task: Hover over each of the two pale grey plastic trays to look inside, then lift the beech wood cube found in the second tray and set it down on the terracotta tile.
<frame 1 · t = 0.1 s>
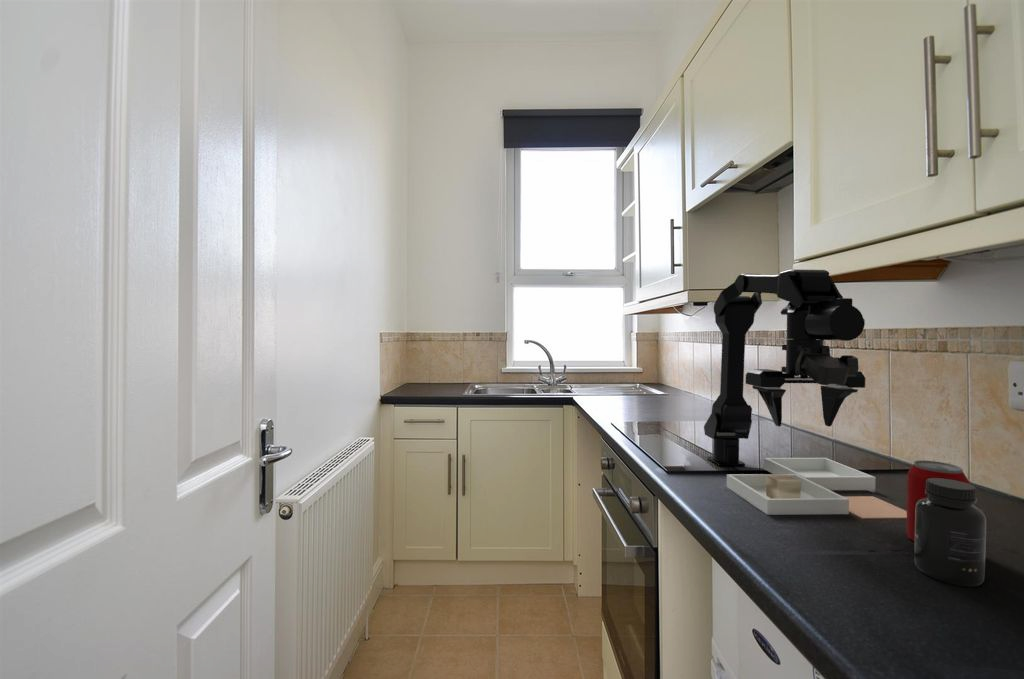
hand: (803, 426, 85), 15 cm above the countertop, tool pointing down, fingers open, 9 cm apart
tray b: (815, 481, 100), on the countertop
beech cube: (782, 499, 88), resting on tray a
tray a: (782, 501, 88), on the countertop
beverage can: (935, 547, 70), on the countertop
supplement bottle: (947, 575, 62), on the countertop
tile: (868, 509, 84), on the countertop
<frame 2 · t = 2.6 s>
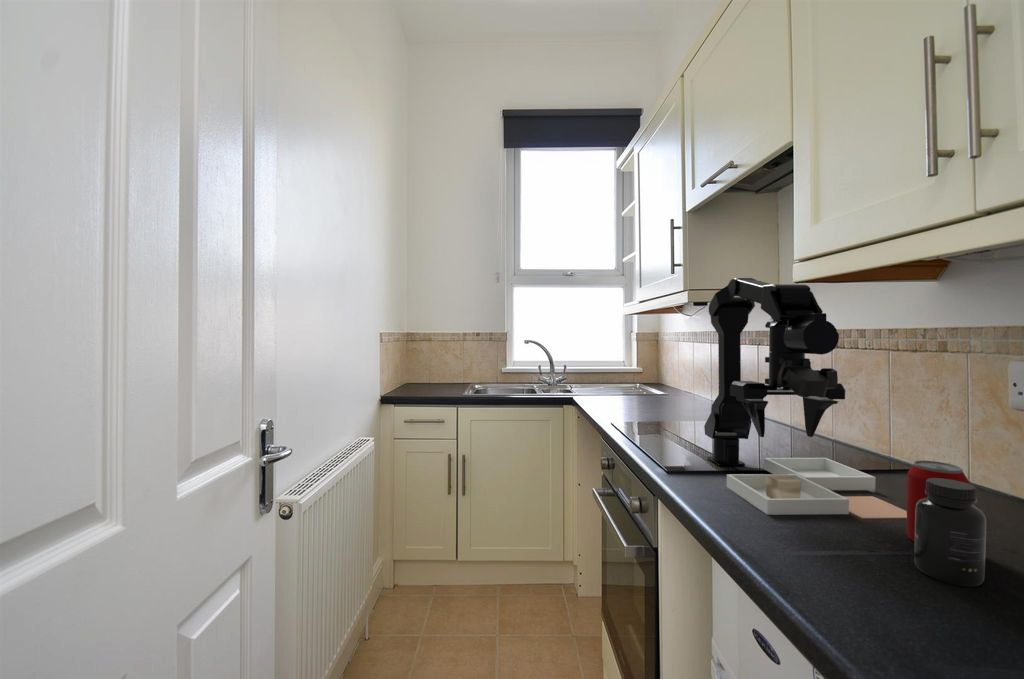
hand: (785, 436, 87), 12 cm above the countertop, tool pointing down, fingers open, 9 cm apart
nothing on the countertop moved.
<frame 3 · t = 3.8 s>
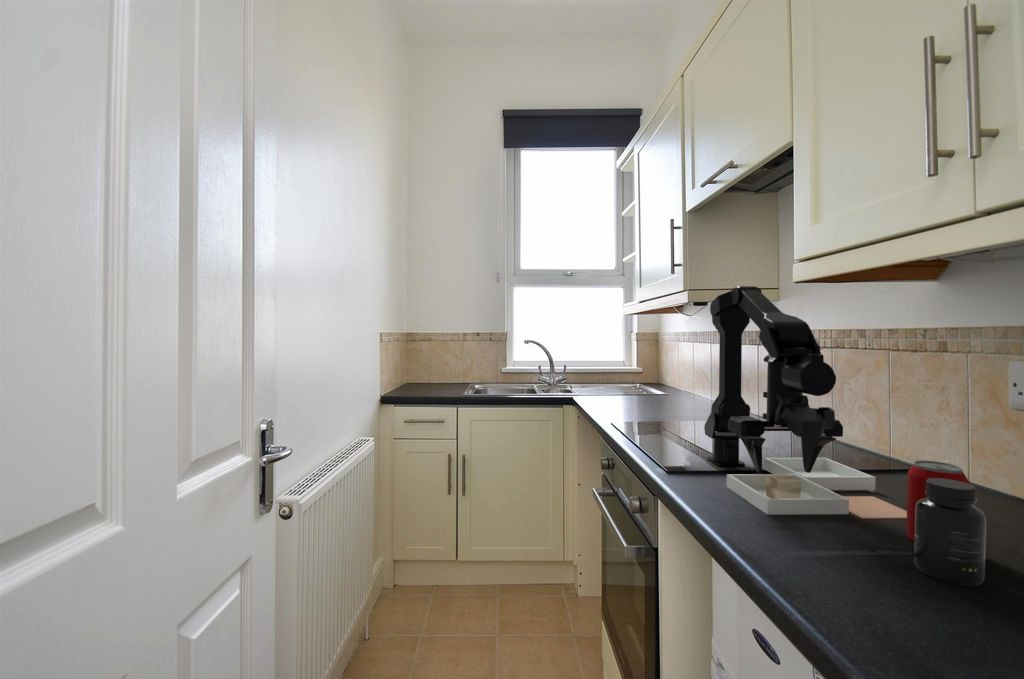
hand: (783, 472, 88), 5 cm above the countertop, tool pointing down, fingers open, 9 cm apart
nothing on the countertop moved.
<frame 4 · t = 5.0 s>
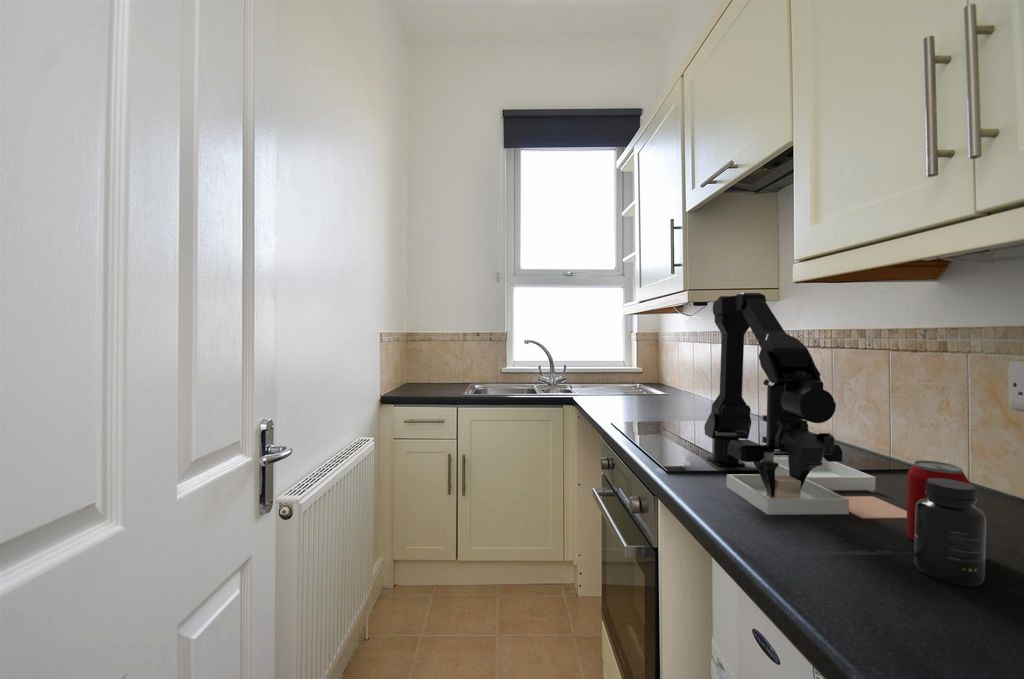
hand: (782, 496, 88), 1 cm above the countertop, tool pointing down, fingers closed on beech cube, 4 cm apart
beech cube: (782, 499, 88), resting on tray a, touching gripper
everything else where it was.
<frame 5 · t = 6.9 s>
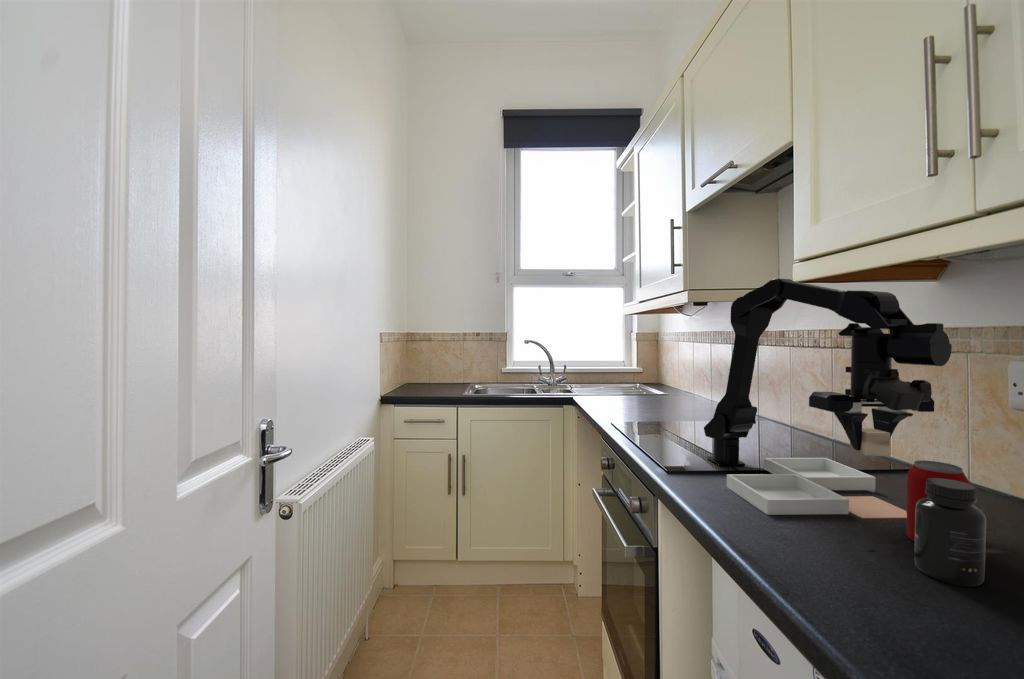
hand: (868, 450, 84), 11 cm above the countertop, tool pointing down, fingers closed on beech cube, 4 cm apart
beech cube: (869, 452, 84), point 10 cm above the countertop, touching gripper
everything else where it was.
when the fingers open (2 cm above the countertop, at t = 8.7 s): beech cube drops 1 cm, resting on tile.
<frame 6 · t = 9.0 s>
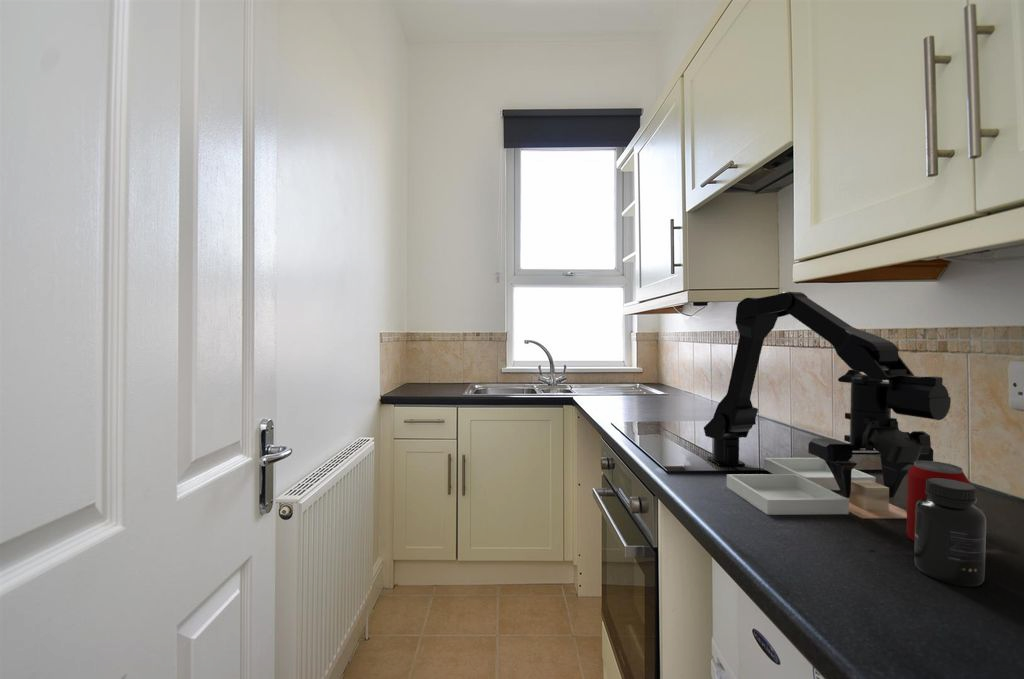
hand: (868, 497, 84), 2 cm above the countertop, tool pointing down, fingers open, 8 cm apart
beech cube: (868, 506, 84), point 1 cm above the countertop, touching tile
everything else where it was.
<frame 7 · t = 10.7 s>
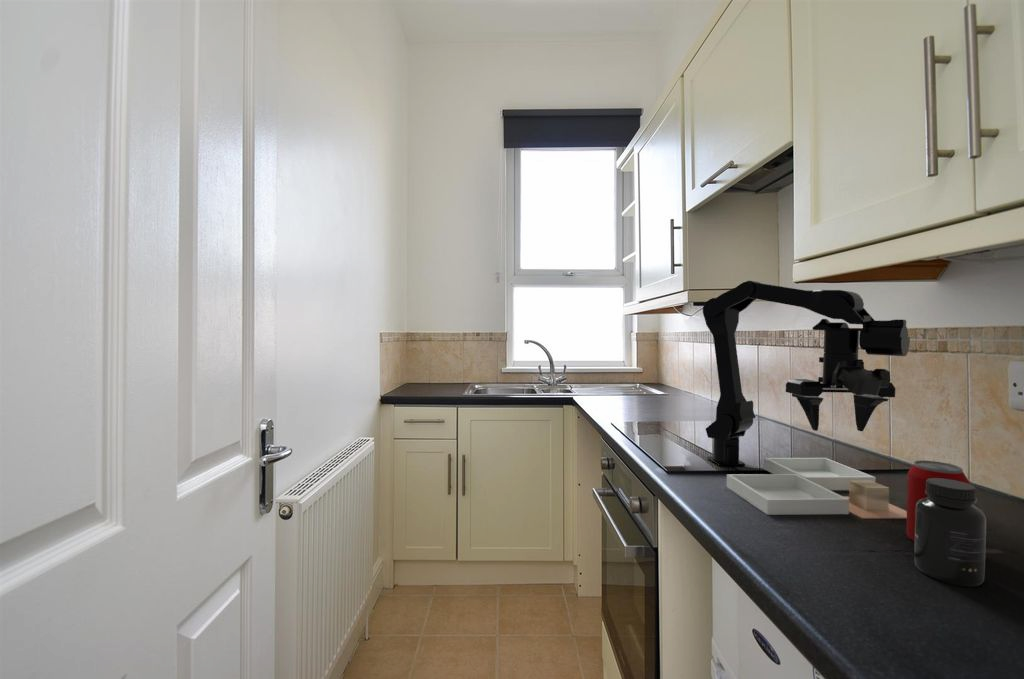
hand: (837, 430, 95), 12 cm above the countertop, tool pointing down, fingers open, 9 cm apart
nothing on the countertop moved.
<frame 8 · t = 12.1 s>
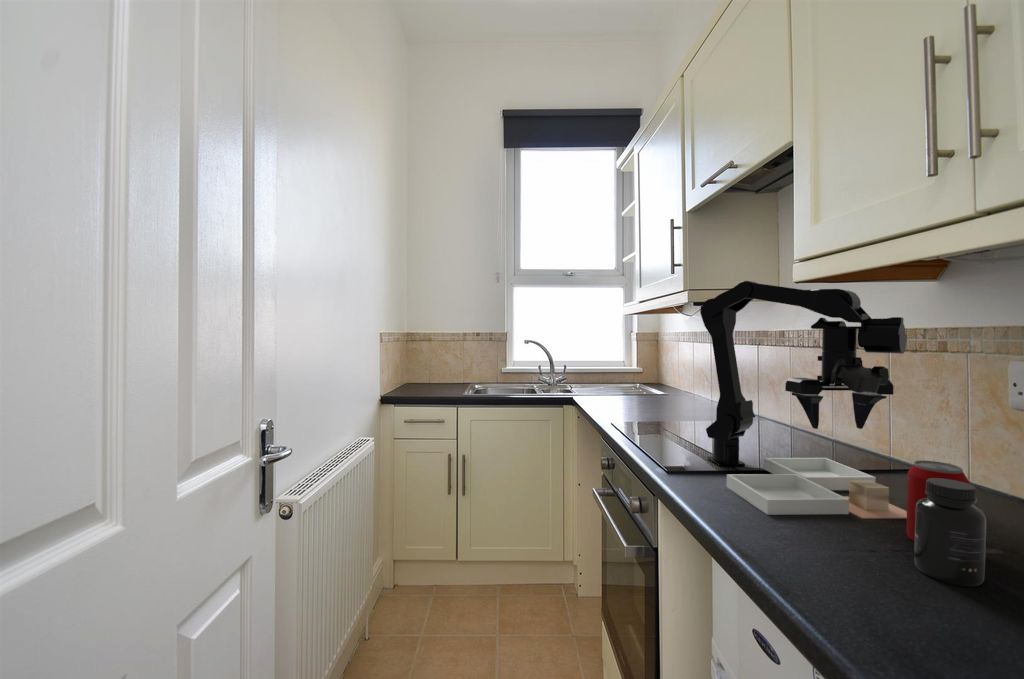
hand: (837, 428, 96), 12 cm above the countertop, tool pointing down, fingers open, 9 cm apart
nothing on the countertop moved.
at the end: beech cube inside the target area on the tile (0.1 cm from its centre), point 0.6 cm above the tile's base; the gripper is holding nothing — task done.
